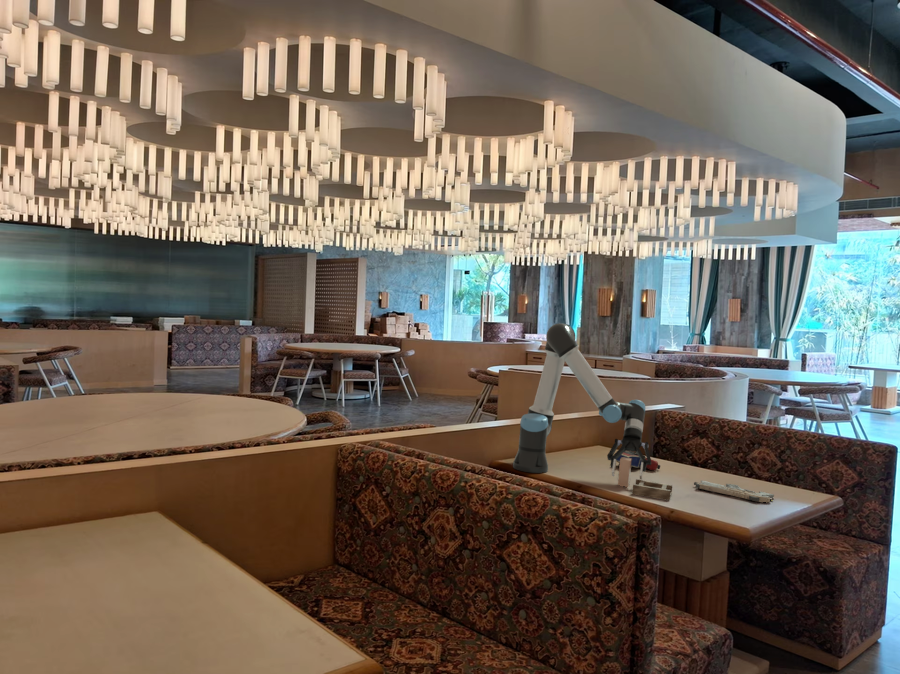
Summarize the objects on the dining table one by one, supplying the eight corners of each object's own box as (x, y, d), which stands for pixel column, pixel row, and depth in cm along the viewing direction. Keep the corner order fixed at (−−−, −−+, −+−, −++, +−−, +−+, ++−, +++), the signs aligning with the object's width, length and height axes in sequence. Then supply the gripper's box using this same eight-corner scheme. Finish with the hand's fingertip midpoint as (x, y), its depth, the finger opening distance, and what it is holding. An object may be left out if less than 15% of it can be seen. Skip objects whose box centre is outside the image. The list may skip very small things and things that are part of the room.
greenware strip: (617, 485, 276) (620, 459, 276) (619, 483, 281) (621, 457, 281) (627, 487, 275) (630, 460, 275) (629, 484, 280) (631, 458, 279)
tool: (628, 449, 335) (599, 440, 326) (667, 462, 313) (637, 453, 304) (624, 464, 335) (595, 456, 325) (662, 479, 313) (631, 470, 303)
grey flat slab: (705, 484, 297) (689, 488, 281) (705, 477, 297) (690, 481, 281) (778, 501, 279) (766, 506, 263) (779, 493, 279) (767, 498, 263)
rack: (632, 494, 264) (632, 485, 264) (635, 487, 275) (636, 479, 275) (669, 500, 259) (670, 491, 259) (671, 493, 270) (672, 484, 270)
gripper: (661, 440, 288) (656, 484, 274) (606, 434, 296) (599, 477, 282) (660, 429, 283) (655, 474, 269) (605, 423, 291) (597, 467, 277)
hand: (626, 475), depth 275 cm, fingers open, 10 cm apart
